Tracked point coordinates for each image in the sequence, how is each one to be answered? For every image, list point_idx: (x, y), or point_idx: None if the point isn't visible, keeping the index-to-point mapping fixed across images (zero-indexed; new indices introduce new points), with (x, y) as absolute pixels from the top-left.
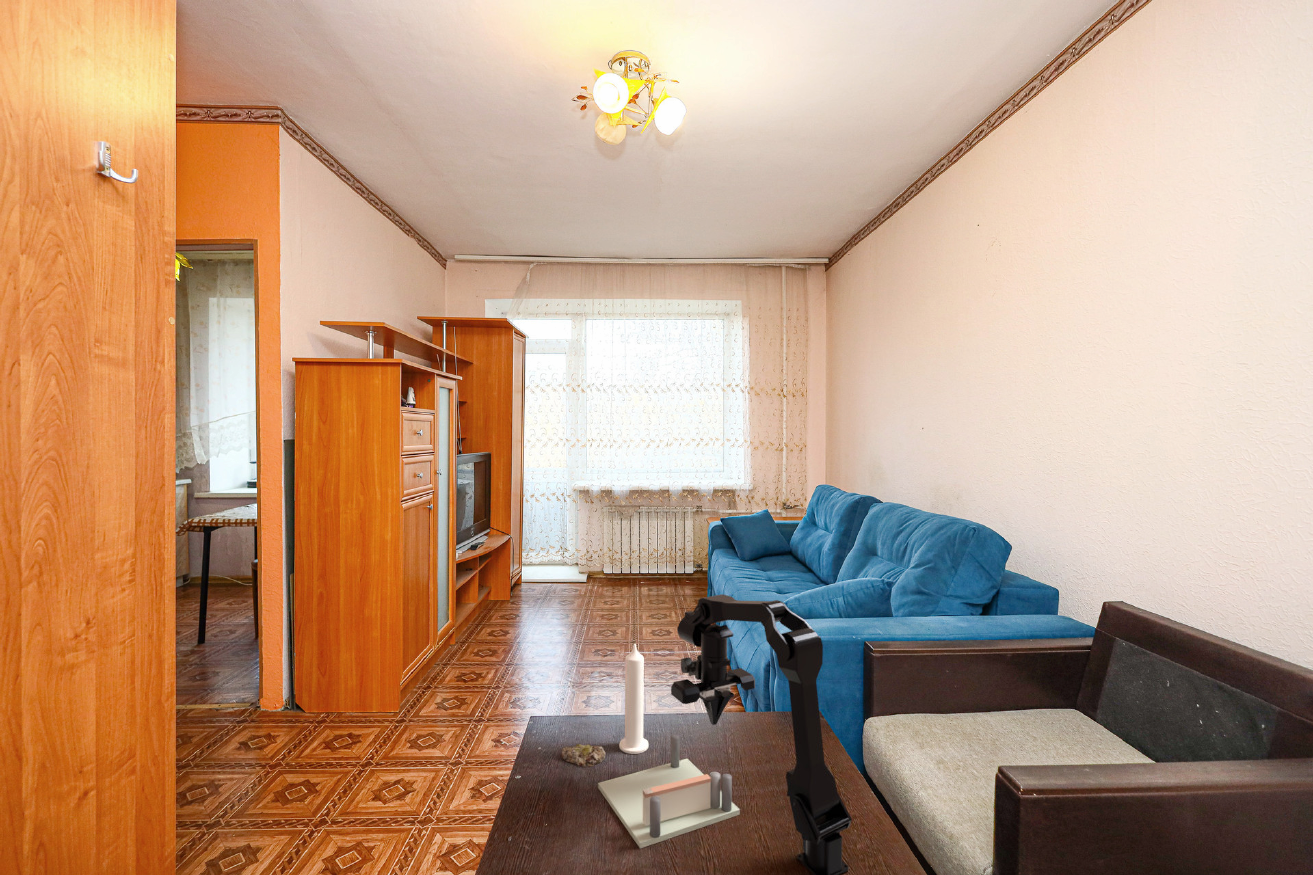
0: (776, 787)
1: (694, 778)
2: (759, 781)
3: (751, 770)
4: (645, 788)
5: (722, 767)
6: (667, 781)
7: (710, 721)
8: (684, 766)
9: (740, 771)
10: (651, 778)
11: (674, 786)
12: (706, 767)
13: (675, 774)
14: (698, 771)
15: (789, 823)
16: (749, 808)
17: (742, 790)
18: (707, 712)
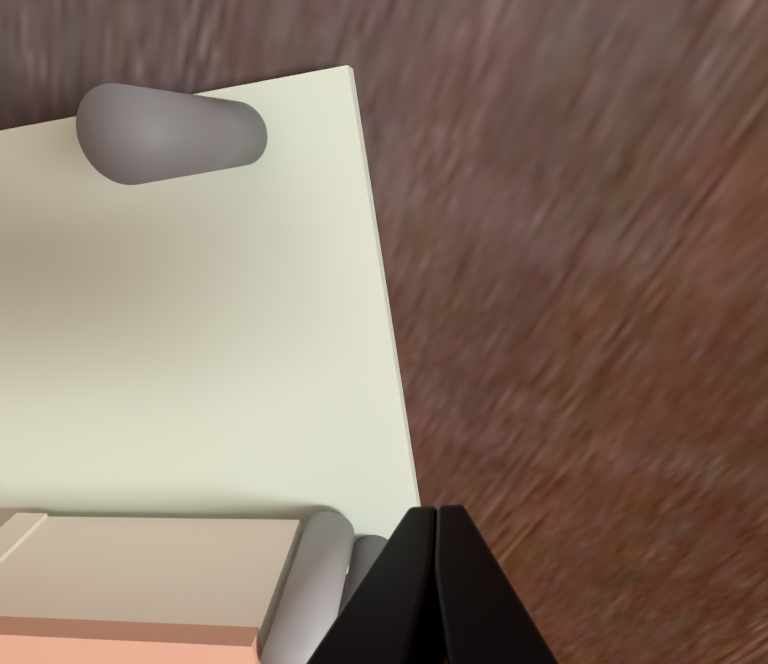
0: (715, 469)
1: (167, 650)
2: (670, 400)
3: (706, 294)
4: (40, 303)
5: (554, 204)
6: (161, 283)
7: (401, 525)
8: (297, 163)
9: (634, 281)
10: (76, 225)
11: (50, 660)
12: (455, 169)
13: (220, 232)
14: (364, 248)
15: (582, 647)
16: (487, 539)
17: (533, 432)
18: (330, 639)
